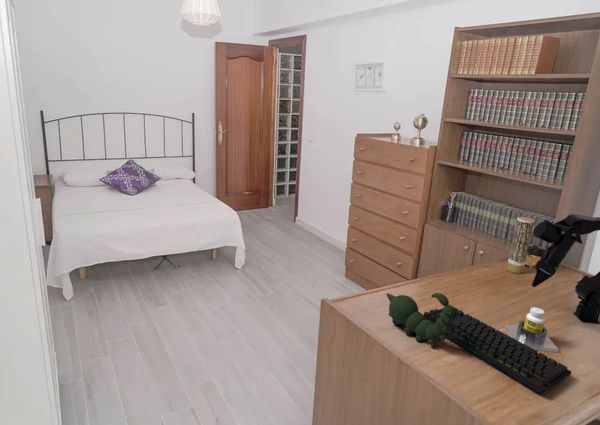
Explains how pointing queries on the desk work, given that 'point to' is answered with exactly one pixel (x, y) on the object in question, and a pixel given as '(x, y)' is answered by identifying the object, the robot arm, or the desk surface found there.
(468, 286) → the desk surface
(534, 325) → the supplement bottle
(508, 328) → the cup bracket
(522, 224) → the bark textured cylinder
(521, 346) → the keyboard
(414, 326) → the toy figurine
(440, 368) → the desk surface
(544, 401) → the desk surface
